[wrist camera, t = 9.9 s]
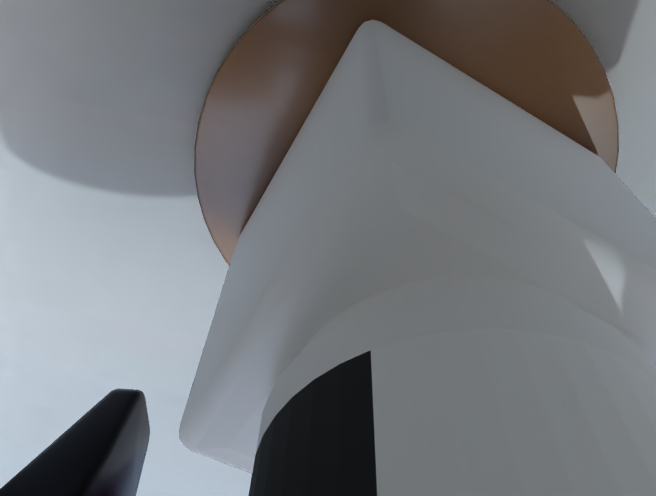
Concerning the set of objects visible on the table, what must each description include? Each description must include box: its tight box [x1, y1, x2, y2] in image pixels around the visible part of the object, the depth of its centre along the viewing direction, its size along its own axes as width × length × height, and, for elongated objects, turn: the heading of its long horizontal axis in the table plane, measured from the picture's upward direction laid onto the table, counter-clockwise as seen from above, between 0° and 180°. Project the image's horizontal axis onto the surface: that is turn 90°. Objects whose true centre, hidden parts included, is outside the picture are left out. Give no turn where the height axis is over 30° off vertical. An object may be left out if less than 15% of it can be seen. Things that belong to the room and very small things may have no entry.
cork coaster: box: [195, 0, 619, 266], centre depth 16 cm, size 11×11×1 cm
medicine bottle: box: [179, 20, 656, 496], centre depth 11 cm, size 7×7×12 cm
